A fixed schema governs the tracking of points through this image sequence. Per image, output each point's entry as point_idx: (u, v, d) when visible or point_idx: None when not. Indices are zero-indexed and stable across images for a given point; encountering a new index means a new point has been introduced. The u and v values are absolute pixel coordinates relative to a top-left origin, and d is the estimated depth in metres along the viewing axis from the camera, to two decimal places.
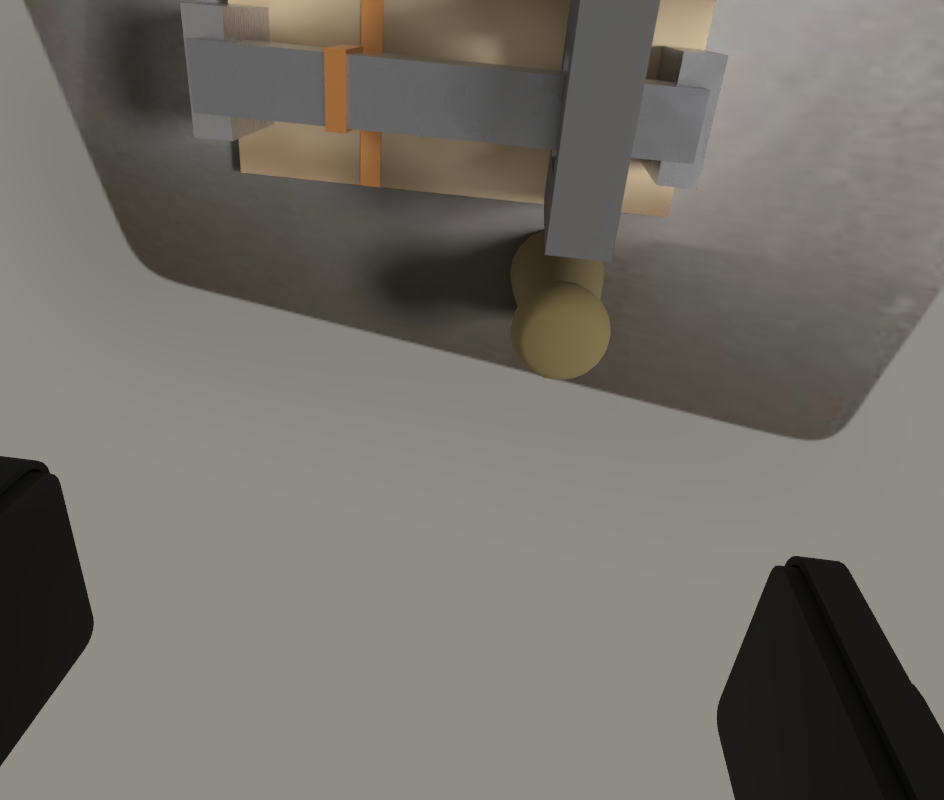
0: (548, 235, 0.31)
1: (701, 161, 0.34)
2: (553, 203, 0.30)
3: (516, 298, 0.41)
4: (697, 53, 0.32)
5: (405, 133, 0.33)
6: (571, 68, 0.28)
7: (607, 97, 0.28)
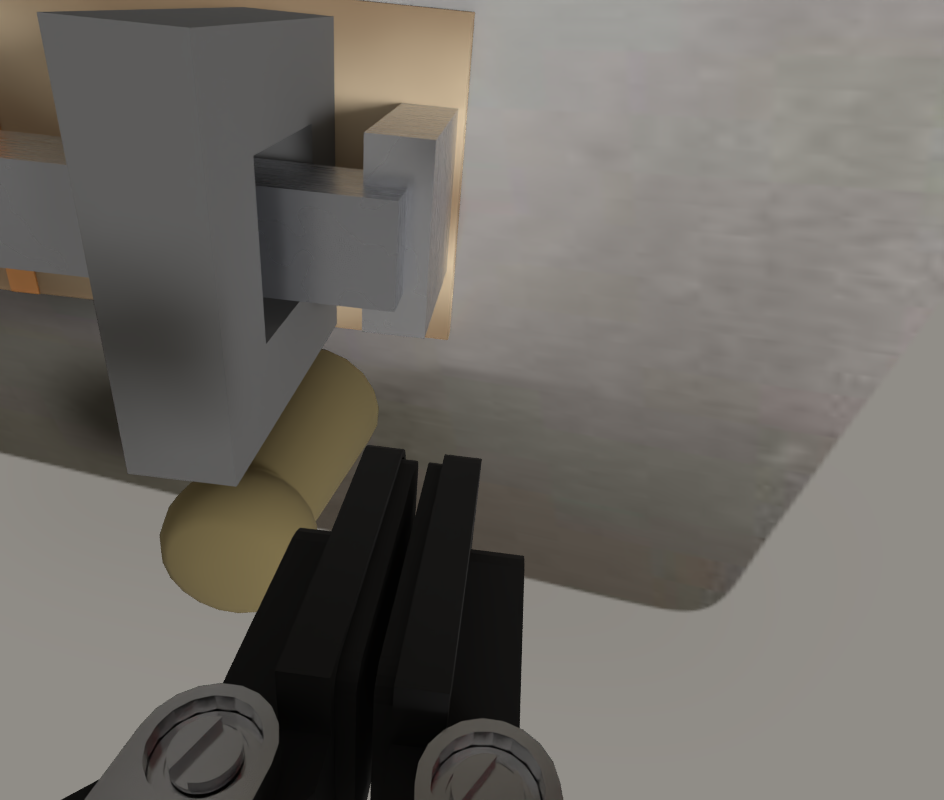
0: (125, 446, 0.19)
1: (423, 298, 0.21)
2: (116, 400, 0.18)
3: None
4: (386, 136, 0.19)
5: None
6: (75, 187, 0.15)
7: (150, 238, 0.16)
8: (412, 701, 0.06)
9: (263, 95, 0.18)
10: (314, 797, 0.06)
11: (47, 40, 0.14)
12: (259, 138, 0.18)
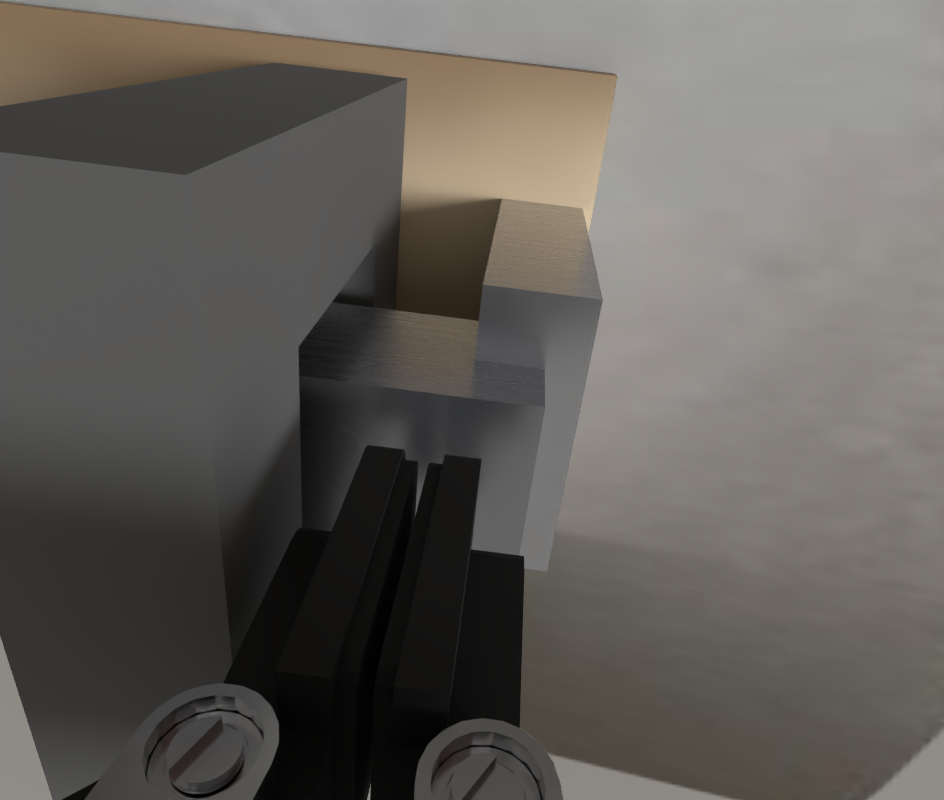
0: None
1: (553, 520, 0.14)
2: (46, 764, 0.10)
3: None
4: (519, 291, 0.12)
5: None
6: None
7: (103, 544, 0.08)
8: (412, 701, 0.06)
9: (317, 238, 0.10)
10: (315, 796, 0.06)
11: None
12: (308, 312, 0.10)
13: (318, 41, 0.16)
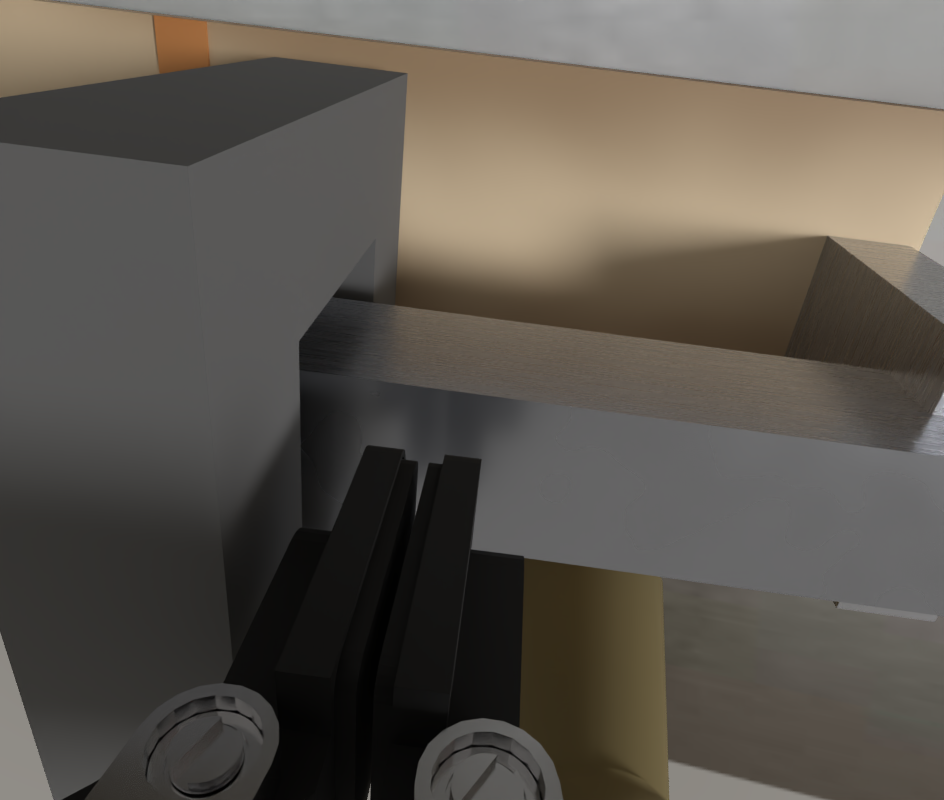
0: None
1: None
2: (45, 758, 0.10)
3: None
4: None
5: None
6: None
7: (103, 538, 0.08)
8: (412, 701, 0.06)
9: (318, 232, 0.10)
10: (314, 796, 0.06)
11: None
12: (309, 306, 0.10)
13: (668, 78, 0.16)
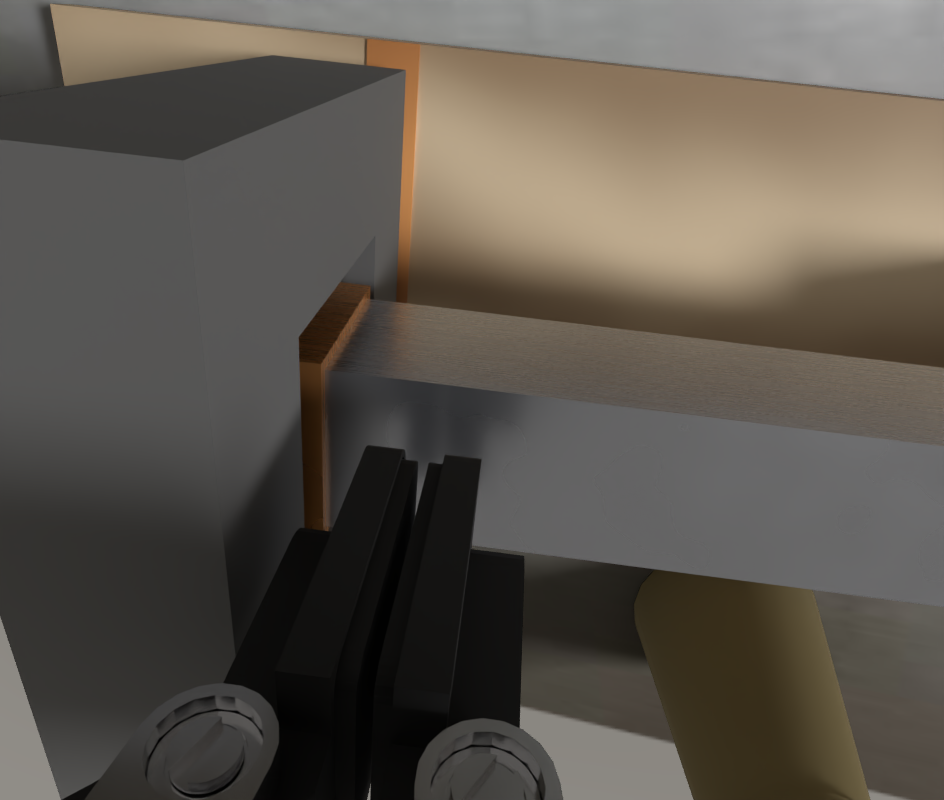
0: None
1: None
2: (51, 755, 0.10)
3: (669, 713, 0.21)
4: None
5: (480, 544, 0.13)
6: None
7: (105, 534, 0.08)
8: (412, 702, 0.06)
9: (315, 228, 0.10)
10: (314, 797, 0.06)
11: None
12: (308, 302, 0.10)
13: (891, 96, 0.15)
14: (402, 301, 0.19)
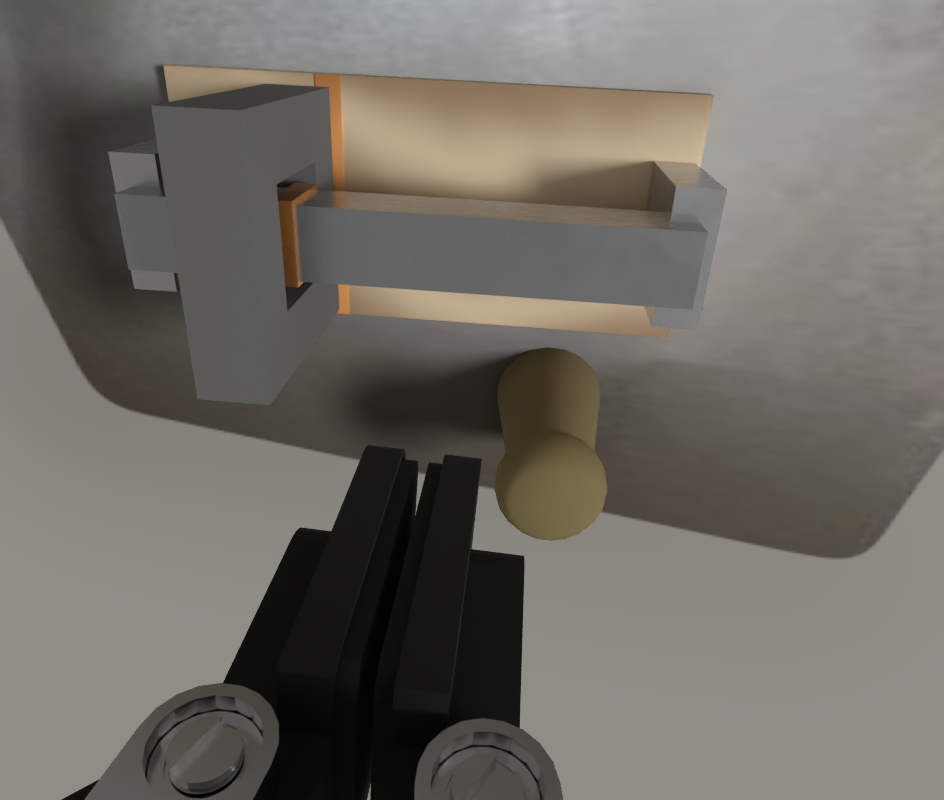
0: (196, 379, 0.28)
1: (701, 300, 0.30)
2: (190, 346, 0.27)
3: None
4: (691, 188, 0.28)
5: (364, 285, 0.29)
6: (169, 207, 0.25)
7: (214, 236, 0.25)
8: (412, 701, 0.06)
9: (282, 145, 0.27)
10: (314, 796, 0.06)
11: (156, 121, 0.23)
12: (280, 173, 0.27)
13: (564, 87, 0.32)
14: None
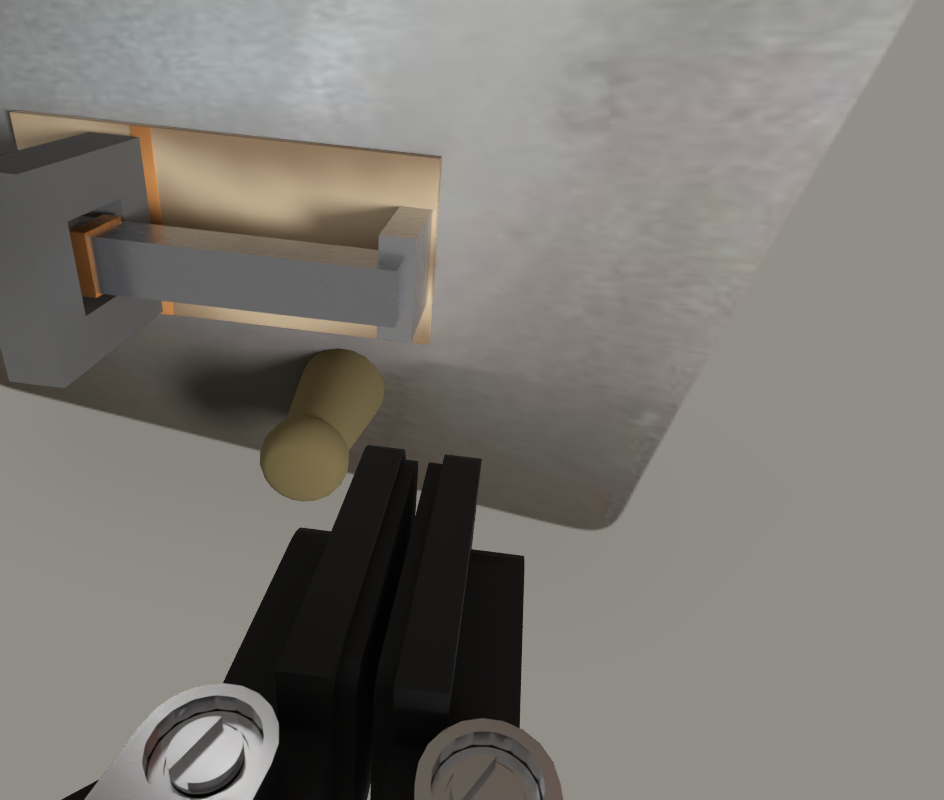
0: (7, 366, 0.37)
1: (410, 320, 0.39)
2: (0, 341, 0.36)
3: None
4: (390, 236, 0.37)
5: (147, 298, 0.38)
6: None
7: (9, 262, 0.34)
8: (412, 702, 0.06)
9: (73, 191, 0.36)
10: (314, 796, 0.06)
11: None
12: (71, 212, 0.36)
13: (325, 146, 0.41)
14: None
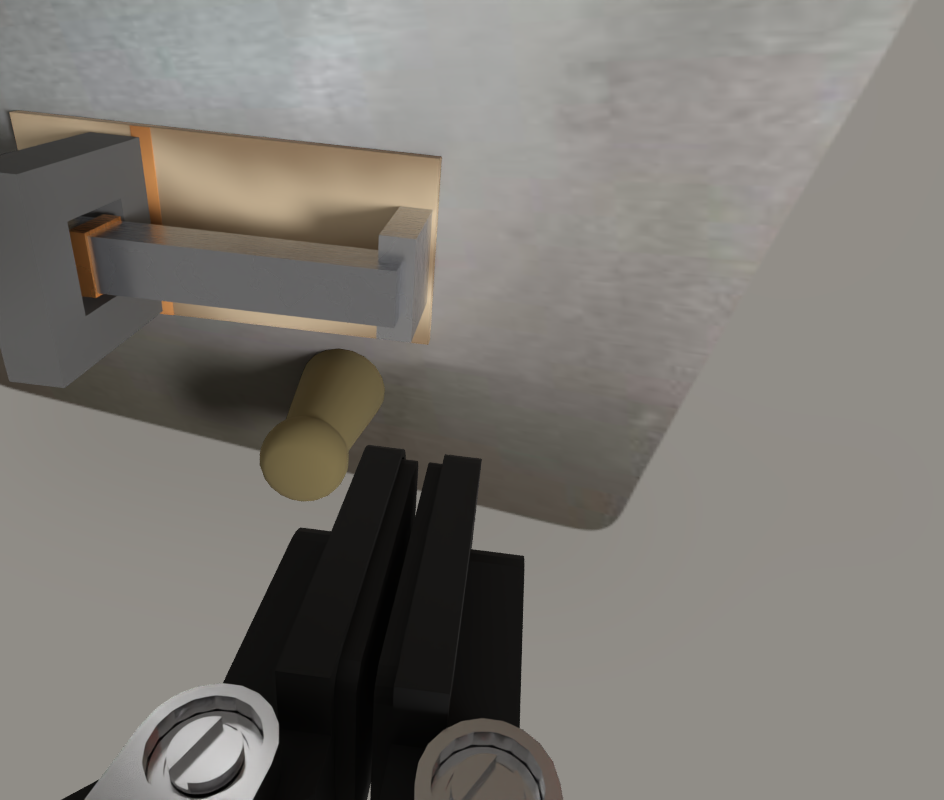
0: (6, 366, 0.37)
1: (410, 320, 0.39)
2: (0, 341, 0.36)
3: None
4: (390, 236, 0.37)
5: (147, 298, 0.38)
6: None
7: (9, 262, 0.34)
8: (412, 701, 0.06)
9: (73, 191, 0.36)
10: (314, 797, 0.06)
11: None
12: (71, 212, 0.36)
13: (325, 146, 0.41)
14: None
